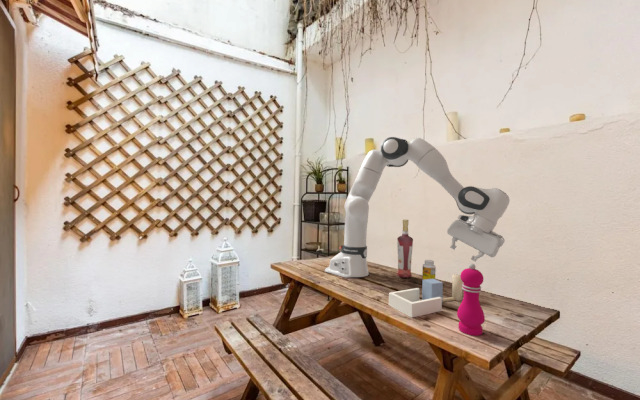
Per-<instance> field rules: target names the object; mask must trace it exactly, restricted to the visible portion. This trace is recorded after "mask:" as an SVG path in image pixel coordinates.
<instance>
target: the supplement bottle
mask: <svg viewBox="0 0 640 400" xmlns="http://www.w3.org/2000/svg"><path fill="white" fill-rule="evenodd" d="M436 272H437V269H436V265H435V261H434V259H433V260H432V259H424V263H423V264H422V274H421V275H422V278H421V280H425V279H435V280H436Z"/></svg>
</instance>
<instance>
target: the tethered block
mask: <svg viewBox="0 0 640 400" xmlns="http://www.w3.org/2000/svg"><path fill="white" fill-rule="evenodd" d="M460 276H461V274H452V279H451V281H452V283H451V296H450V297H443V291H444V289H443V288H444V287H443V286H444V283H443V282H442V281H440V280H438V279H436V278H435V279H425V280H422V279H421V280H422V288H421V300H425V299H430V298H435V297H441V298H442V303H443V302H449V301H457V302H459V301H460V302H462V300H463V289H462V284H463V282H462V280H461V277H460Z"/></svg>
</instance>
